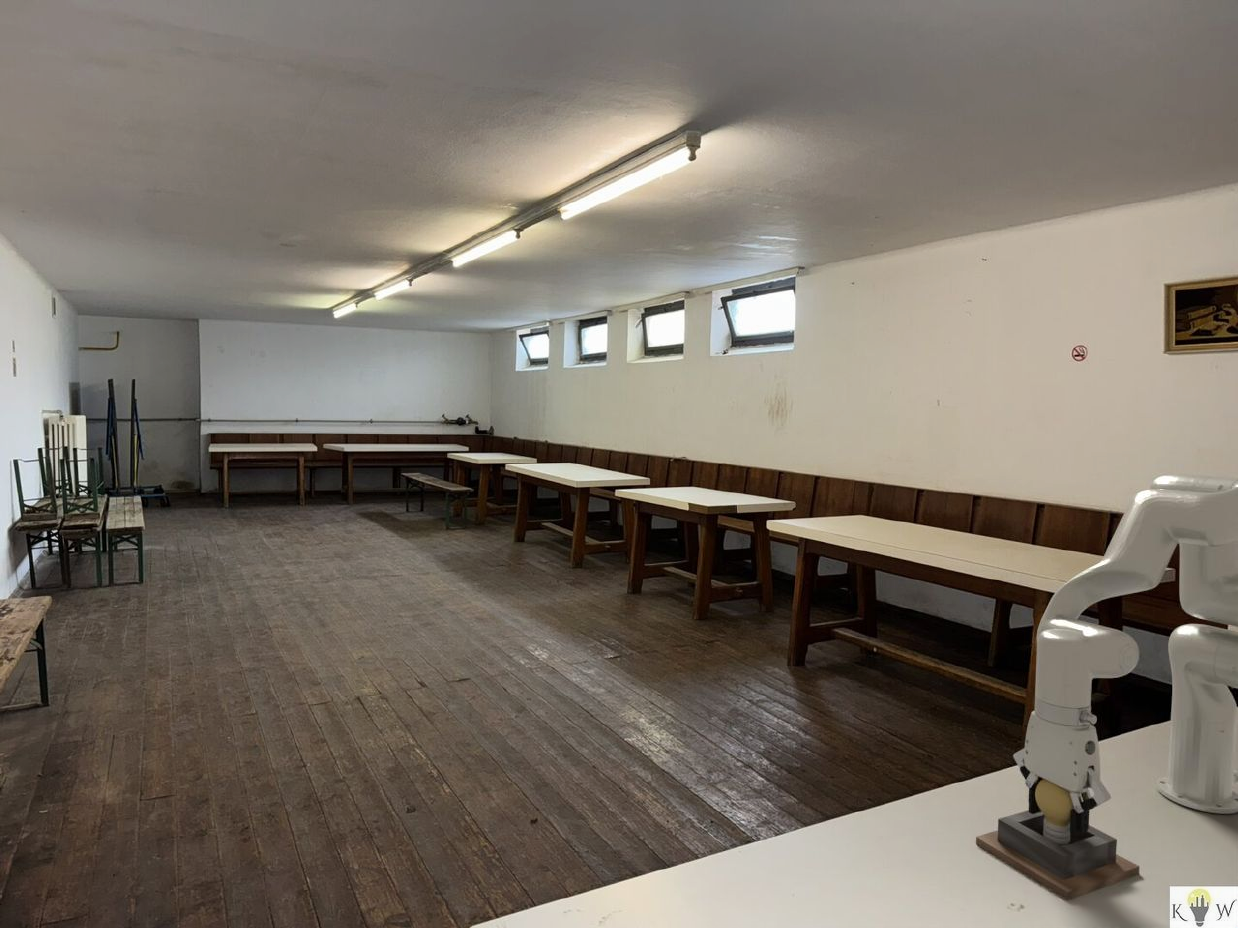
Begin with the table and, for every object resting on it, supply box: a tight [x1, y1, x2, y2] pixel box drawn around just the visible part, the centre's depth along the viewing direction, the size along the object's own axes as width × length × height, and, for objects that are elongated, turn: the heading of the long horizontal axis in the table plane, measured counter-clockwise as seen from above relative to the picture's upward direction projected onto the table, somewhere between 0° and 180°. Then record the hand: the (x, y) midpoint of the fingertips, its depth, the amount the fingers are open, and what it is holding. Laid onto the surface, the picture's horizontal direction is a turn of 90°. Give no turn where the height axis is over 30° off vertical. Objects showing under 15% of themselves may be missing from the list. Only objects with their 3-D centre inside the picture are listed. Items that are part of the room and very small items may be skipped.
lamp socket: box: [975, 809, 1141, 901], centre depth 123 cm, size 16×16×5 cm
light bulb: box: [1035, 779, 1083, 845], centre depth 123 cm, size 6×6×10 cm
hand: (1057, 821), depth 123 cm, fingers closed on light bulb, 6 cm apart
